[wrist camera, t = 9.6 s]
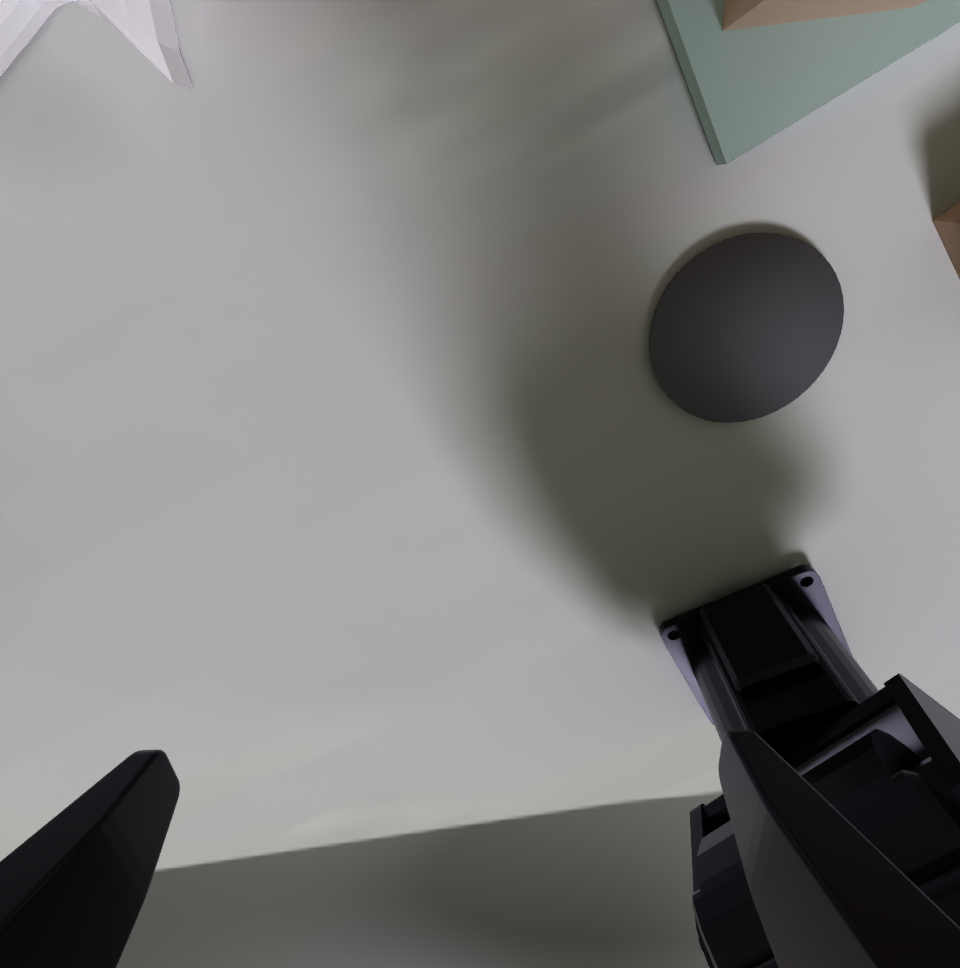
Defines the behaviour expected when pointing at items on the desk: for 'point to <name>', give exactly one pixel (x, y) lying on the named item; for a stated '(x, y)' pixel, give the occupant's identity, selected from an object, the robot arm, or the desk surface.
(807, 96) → the mat
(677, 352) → the dark grey puck
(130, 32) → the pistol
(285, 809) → the desk surface
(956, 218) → the walnut block
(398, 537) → the desk surface
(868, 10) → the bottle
